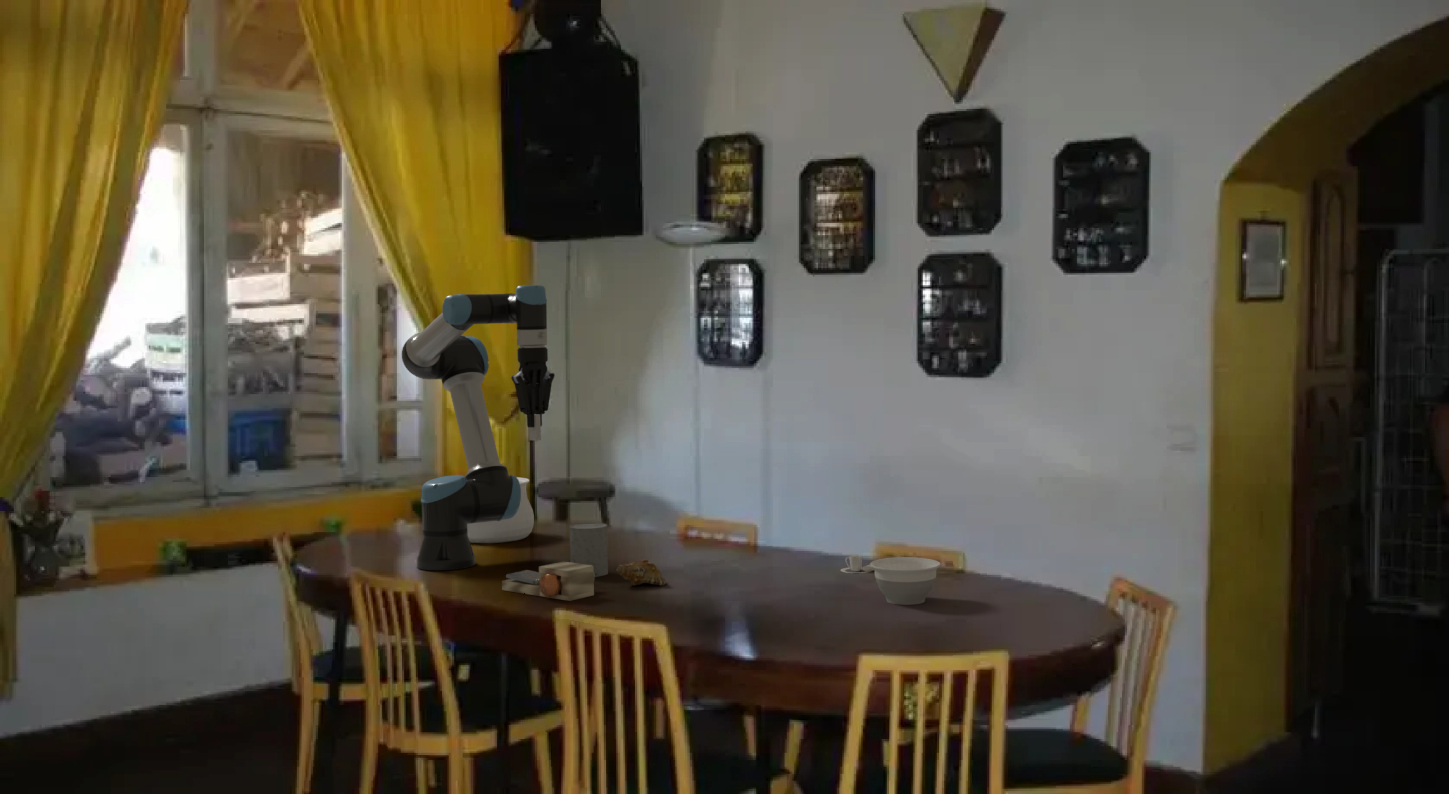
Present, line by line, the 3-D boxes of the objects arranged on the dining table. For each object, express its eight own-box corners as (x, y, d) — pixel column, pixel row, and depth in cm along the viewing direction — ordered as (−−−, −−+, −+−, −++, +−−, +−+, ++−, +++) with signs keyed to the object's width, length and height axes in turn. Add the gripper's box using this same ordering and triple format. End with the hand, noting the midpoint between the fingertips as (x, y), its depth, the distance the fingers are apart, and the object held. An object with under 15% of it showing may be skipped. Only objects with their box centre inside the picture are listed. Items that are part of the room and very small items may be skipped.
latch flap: (506, 578, 350) (506, 573, 350) (527, 573, 355) (527, 569, 355) (536, 585, 343) (536, 580, 343) (558, 580, 349) (558, 575, 349)
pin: (539, 595, 339) (539, 573, 339) (582, 586, 350) (581, 564, 350) (555, 598, 336) (555, 576, 335) (597, 588, 347) (597, 566, 346)
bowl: (923, 610, 318) (923, 572, 318) (858, 604, 327) (857, 566, 326) (952, 597, 332) (952, 560, 331) (889, 591, 340) (888, 555, 340)
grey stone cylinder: (602, 577, 364) (601, 528, 363) (565, 576, 366) (564, 528, 365) (612, 570, 373) (611, 523, 372) (577, 569, 375) (575, 522, 374)
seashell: (647, 602, 348) (626, 568, 346) (629, 602, 355) (609, 569, 353) (673, 580, 353) (653, 545, 351) (655, 580, 360) (635, 547, 358)
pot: (527, 544, 416) (526, 486, 415) (442, 546, 417) (440, 487, 415) (540, 530, 442) (538, 475, 441) (460, 531, 442) (458, 476, 441)
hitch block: (502, 590, 350) (501, 561, 350) (526, 584, 357) (525, 556, 356) (569, 601, 336) (569, 571, 336) (594, 595, 342) (593, 565, 342)
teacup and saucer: (881, 572, 366) (880, 556, 366) (861, 576, 360) (861, 560, 360) (853, 568, 372) (853, 552, 372) (833, 572, 366) (833, 556, 366)
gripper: (523, 347, 358) (526, 443, 360) (561, 345, 368) (564, 438, 370) (502, 347, 363) (505, 441, 364) (540, 345, 373) (543, 437, 375)
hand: (535, 440), depth 367 cm, fingers closed
